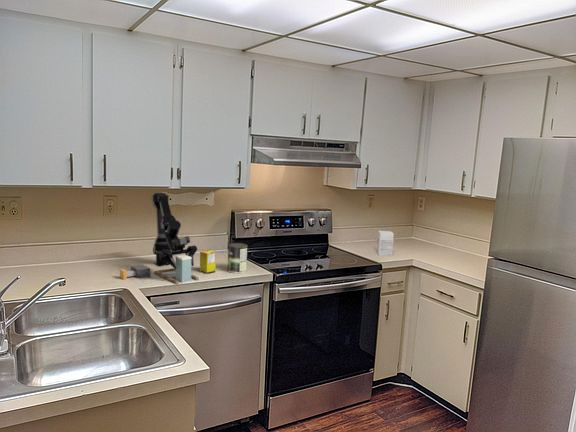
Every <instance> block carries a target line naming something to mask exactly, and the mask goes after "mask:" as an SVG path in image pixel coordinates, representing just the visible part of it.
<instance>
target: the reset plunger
mask: <svg viewBox="0 0 576 432" xmlns="http://www.w3.org/2000/svg"><path fill="white" fill-rule="evenodd" d="M133 276H135V277H136V271H135V270H134V271H131V270H128V271H127V270H126V269H123V268H121V269H119V278H120V279H122V280H128V277H133Z"/></svg>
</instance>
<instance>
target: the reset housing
mask: <svg viewBox="0 0 576 432" xmlns="http://www.w3.org/2000/svg"><path fill="white" fill-rule="evenodd" d="M134 270H135V271H136V275H135V278H137V279H144V278H150V277H151V268H150V267H149V266H146V265H144V264H136V265H130V271H134Z"/></svg>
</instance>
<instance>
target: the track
mask: <svg viewBox="0 0 576 432" xmlns="http://www.w3.org/2000/svg"><path fill="white" fill-rule="evenodd" d="M153 274H154V275H156V276H158V277H160V278H162V279H164V280H167V281H168V282H171V283H174V284H175V285H179V282H180V281H178V280H176V269H175V268H174V267H172V268H166V269H160V270H155V271H153ZM174 278H175V279H174ZM191 280H195V281H199V276H196V275H193V274H191Z"/></svg>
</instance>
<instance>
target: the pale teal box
mask: <svg viewBox="0 0 576 432" xmlns="http://www.w3.org/2000/svg"><path fill="white" fill-rule="evenodd" d="M191 259H192V257H190V256H187V255H186V254H178V255H175V263H176V266H177V268H176V278H175V280H177V281H179V282H181V283H187V282H192V278H191V275H192V265H191Z"/></svg>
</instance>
